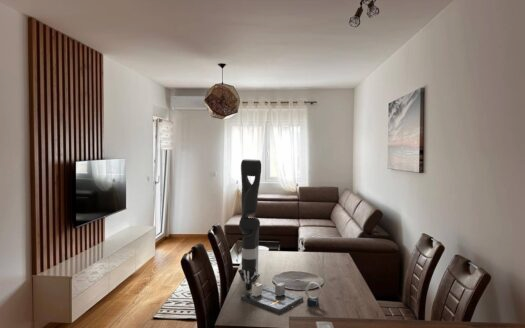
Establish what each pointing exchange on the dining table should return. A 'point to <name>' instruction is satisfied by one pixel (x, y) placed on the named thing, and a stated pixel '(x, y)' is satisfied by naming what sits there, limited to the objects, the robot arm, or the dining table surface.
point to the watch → (312, 300)
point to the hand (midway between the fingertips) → (248, 290)
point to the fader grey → (280, 289)
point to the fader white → (257, 289)
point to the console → (273, 299)
